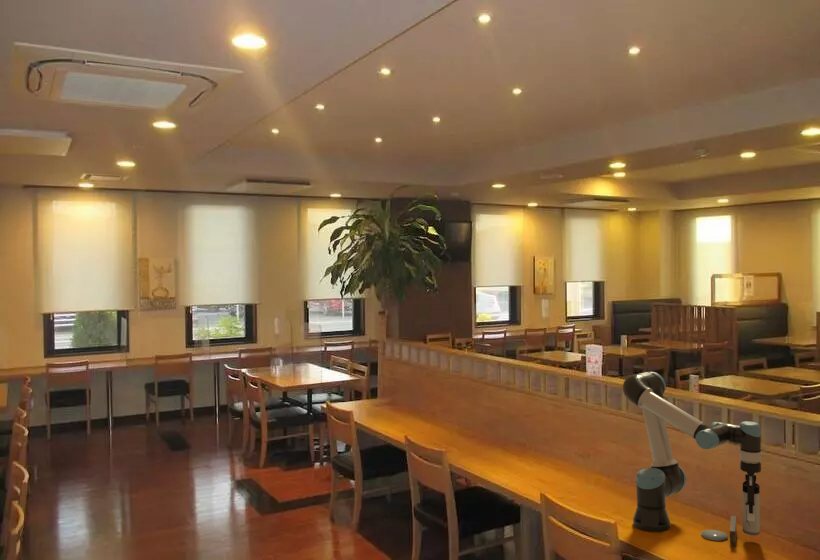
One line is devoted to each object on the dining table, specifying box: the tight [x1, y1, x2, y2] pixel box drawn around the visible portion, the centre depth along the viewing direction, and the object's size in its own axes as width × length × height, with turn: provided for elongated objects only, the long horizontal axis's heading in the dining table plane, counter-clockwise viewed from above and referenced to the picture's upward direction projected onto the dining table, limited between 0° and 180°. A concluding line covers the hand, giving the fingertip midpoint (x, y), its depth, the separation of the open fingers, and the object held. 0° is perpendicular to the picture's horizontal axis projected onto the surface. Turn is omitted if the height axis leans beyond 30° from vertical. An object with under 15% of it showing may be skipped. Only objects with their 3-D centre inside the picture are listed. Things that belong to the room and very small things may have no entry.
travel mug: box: [741, 480, 761, 536], centre depth 279 cm, size 6×7×20 cm
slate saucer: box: [700, 529, 729, 542], centre depth 285 cm, size 10×10×1 cm
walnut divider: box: [729, 515, 737, 547], centre depth 283 cm, size 2×18×6 cm, turn 154°
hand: (750, 517), depth 279 cm, fingers closed on travel mug, 6 cm apart
